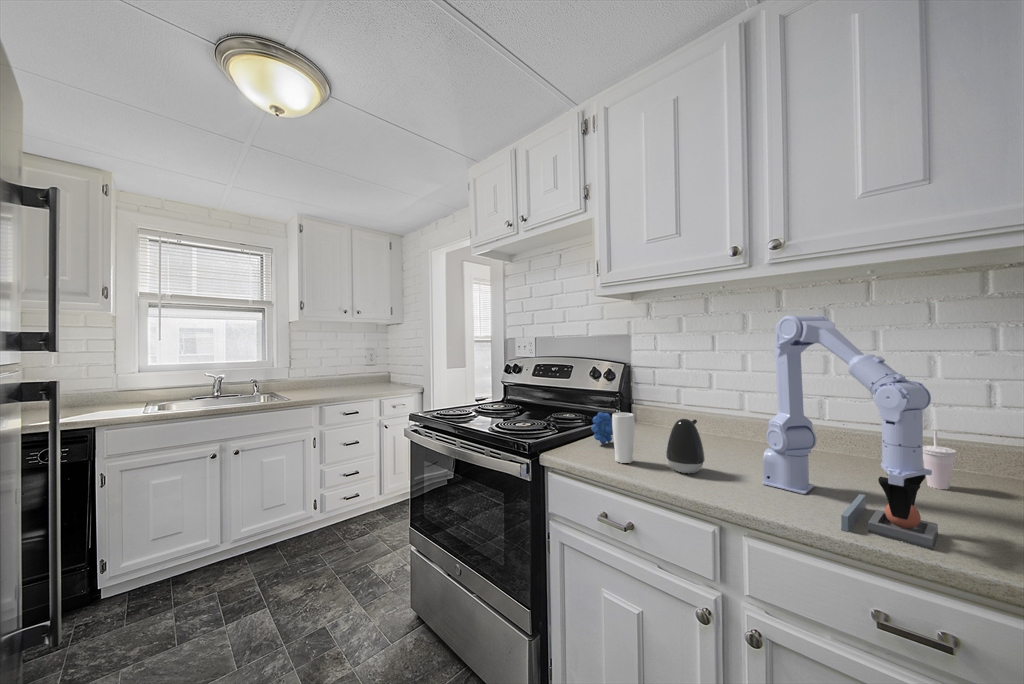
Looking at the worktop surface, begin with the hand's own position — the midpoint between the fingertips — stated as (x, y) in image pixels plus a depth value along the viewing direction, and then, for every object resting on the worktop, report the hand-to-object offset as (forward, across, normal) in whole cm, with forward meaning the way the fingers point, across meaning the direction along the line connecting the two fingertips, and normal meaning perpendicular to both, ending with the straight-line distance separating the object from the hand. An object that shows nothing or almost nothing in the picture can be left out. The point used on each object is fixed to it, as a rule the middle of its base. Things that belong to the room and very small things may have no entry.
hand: (902, 512), depth 78 cm
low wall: (+4, +1, +8) cm, 9 cm away
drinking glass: (+4, -2, +63) cm, 63 cm away
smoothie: (+4, +38, -2) cm, 38 cm away
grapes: (+4, +10, +80) cm, 80 cm away
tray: (+4, 0, 0) cm, 4 cm away
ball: (0, 0, 0) cm, 0 cm away
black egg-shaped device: (+4, +4, +46) cm, 46 cm away
